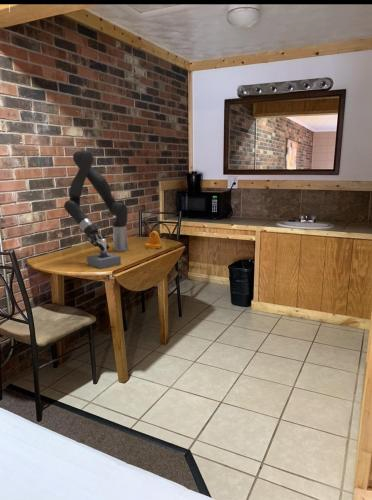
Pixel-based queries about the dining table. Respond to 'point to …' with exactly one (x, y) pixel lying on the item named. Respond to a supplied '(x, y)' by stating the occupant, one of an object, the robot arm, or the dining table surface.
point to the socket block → (103, 260)
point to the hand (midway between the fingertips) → (106, 249)
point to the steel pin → (104, 244)
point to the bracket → (154, 241)
